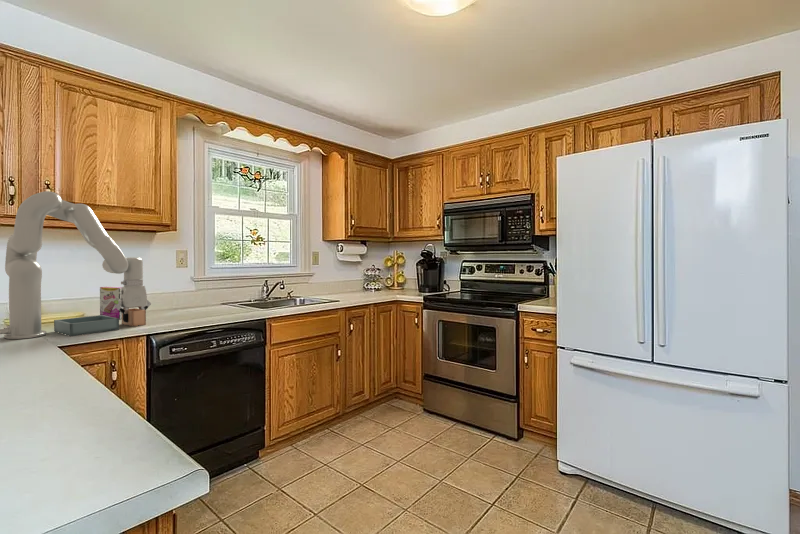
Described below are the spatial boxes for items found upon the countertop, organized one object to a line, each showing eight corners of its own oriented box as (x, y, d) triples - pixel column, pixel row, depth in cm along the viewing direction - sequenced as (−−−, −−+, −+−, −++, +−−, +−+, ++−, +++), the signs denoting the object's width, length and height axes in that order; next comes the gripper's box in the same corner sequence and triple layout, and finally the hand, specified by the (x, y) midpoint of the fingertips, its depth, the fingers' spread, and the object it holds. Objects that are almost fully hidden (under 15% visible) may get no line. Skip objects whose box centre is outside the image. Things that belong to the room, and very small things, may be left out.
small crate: (132, 326, 190) (132, 311, 189) (121, 324, 195) (121, 309, 195) (145, 324, 195) (145, 310, 194) (135, 322, 200) (135, 308, 200)
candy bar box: (99, 319, 208) (99, 286, 207) (107, 317, 213) (107, 286, 212) (119, 319, 207) (119, 287, 206) (127, 318, 212) (127, 286, 211)
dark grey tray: (69, 336, 166) (69, 324, 166) (54, 331, 175) (54, 320, 175) (119, 329, 182) (118, 318, 182) (102, 325, 190) (102, 315, 190)
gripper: (117, 284, 185) (117, 324, 185) (156, 282, 199) (156, 319, 200) (109, 283, 189) (109, 322, 189) (148, 282, 203) (148, 317, 204)
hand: (133, 320), depth 195 cm, fingers closed on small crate, 6 cm apart
